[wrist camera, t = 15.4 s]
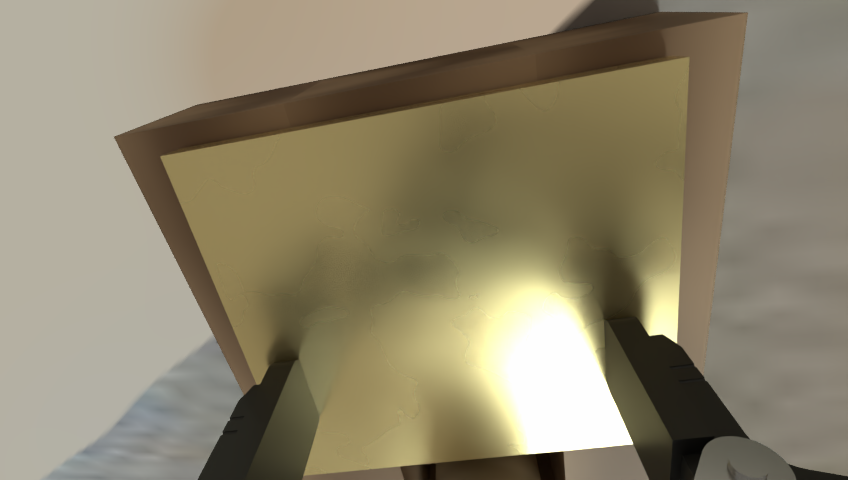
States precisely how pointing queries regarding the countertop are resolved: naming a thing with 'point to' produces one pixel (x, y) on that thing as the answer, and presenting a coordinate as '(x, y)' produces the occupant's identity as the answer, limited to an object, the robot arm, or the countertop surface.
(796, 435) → the countertop surface
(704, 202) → the block
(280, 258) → the latch flap
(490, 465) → the peg
